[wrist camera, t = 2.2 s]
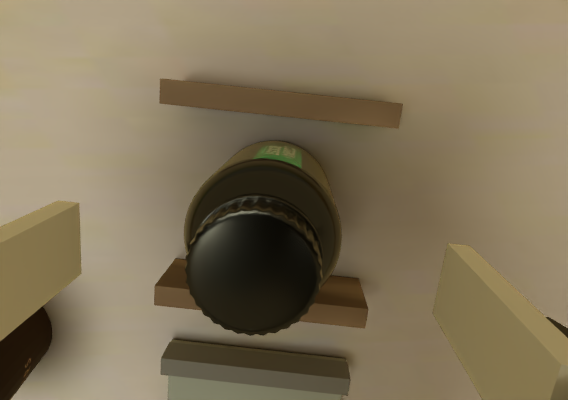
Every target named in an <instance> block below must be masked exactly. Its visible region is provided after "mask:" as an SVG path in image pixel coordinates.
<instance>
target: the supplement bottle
mask: <svg viewBox="0 0 568 400" xmlns="http://www.w3.org/2000/svg"><path fill="white" fill-rule="evenodd" d="M341 240H342V234H341V224H340V218H339V215H338V211H337V208H336V205H335V201H334V198H333V195H332V192H331V189H330V186H329V183H328V180H327V178H326V175H325V173H324V171H323V169H322V168H321V166H320V165H319V163H318V162H317V161H316V160H315V159H314V158H313V157H312V156H311V155H310V154H309V153H308V152H306V151H305V150H304V149H302V148H300V147H298V146H296V145H294V144H291V143H288V142H283V141H263V142H258V143H255V144H252V145H250V146H248V147H246V148H244V149H242V150H241V151H239V152H238V153H237V154H235V155H234V156H233V157H232V158H231V159H230V160H229V161H227V162H226V163H225V164H224V165H223V166H222V167H221V168H220V169H219V170H218V171H216V172H215V173H214V174H213V175H212V176H211V177H210V178H209V179H208V180H207V181H206V182H205V183H204V184H203V185H202V187H201V188H200V189H199V190H198V192H197V193H196V195H195V196H194V198H193V200H192V202H191V204H190V206H189V209H188V211H187V215H186V219H185V225H184V243H185V249H186V253H187V255H186V261H187V264H186V266H185V272H186V275H187V278H186V283H187V285H188V286H189V292H190V295H191V296H192V297H193V298H194V300H195V304H196V306H198V307H199V308H201V310H202V312H203V314H204V315H205V316H207V317H209V318H211V320H212V321H213V322H214V323H216V324H219V325H221V326H222V327H223V328H224V329H227V330H232V331H234V332H236V333H237V334H239V333H245V334H247V335H250V336H251V335H254V334H259V335H265V334H267V333H276V332H278V331H279V330H281V329H287V328H289V327H290V325H291V324H293V323H296V322H299V320H300V318H301V317H302V316H303V315H305V314H307V313H308V311H309V307H310V306H312V305H313V304H314V303H315V299H316V295H317V294H318V293H319V291H320V288H321V287H322V286H323V285H324V284H325V283H326V281H327V280H328V279H329V277H330V275H331V274H332V272H333V270H334V268H335V266H336V264H337V261H338V258H339V254H340V250H341Z"/></svg>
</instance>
